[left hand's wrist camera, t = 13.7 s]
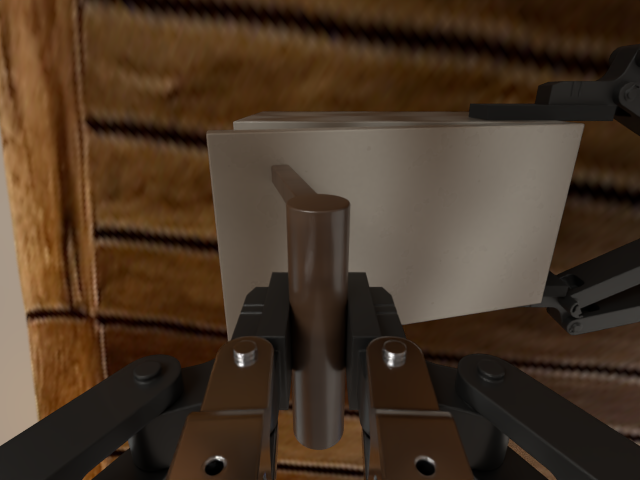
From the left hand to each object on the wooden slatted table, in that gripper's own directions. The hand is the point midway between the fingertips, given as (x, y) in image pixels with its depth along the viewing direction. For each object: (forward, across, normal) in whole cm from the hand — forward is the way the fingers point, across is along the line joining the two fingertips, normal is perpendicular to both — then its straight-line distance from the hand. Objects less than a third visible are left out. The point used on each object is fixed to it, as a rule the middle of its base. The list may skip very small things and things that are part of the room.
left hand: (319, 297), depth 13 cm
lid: (+7, +4, 0) cm, 8 cm away
